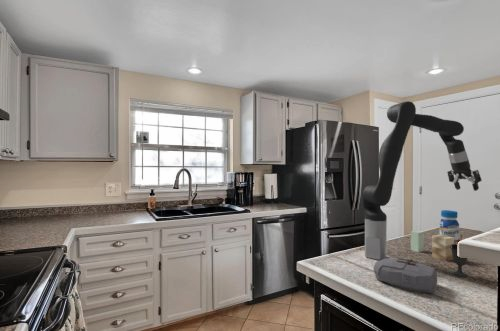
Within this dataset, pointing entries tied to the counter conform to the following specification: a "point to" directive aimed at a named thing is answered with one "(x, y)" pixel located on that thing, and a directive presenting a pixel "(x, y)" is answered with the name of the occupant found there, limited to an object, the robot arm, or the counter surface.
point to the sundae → (458, 260)
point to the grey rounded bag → (406, 274)
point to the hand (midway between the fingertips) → (467, 189)
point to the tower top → (442, 242)
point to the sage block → (417, 241)
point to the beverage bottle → (449, 224)
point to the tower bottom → (442, 254)
